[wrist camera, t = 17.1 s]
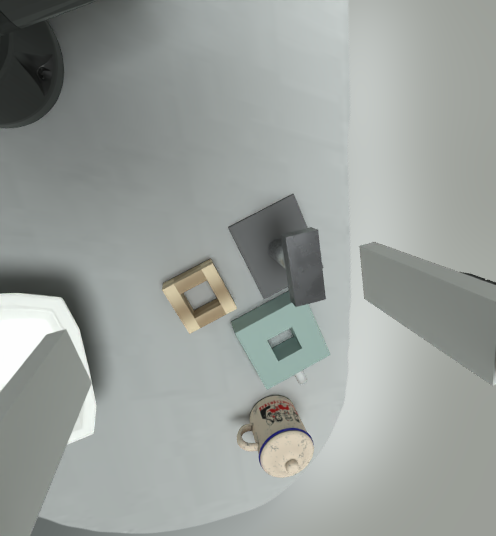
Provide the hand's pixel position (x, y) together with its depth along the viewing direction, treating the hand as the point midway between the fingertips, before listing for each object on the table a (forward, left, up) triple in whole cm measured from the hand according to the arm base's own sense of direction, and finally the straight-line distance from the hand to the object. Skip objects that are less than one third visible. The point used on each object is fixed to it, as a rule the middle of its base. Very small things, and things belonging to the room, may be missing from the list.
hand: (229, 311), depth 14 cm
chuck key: (+10, +9, -33) cm, 35 cm away
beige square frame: (+10, -5, -33) cm, 35 cm away
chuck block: (+25, +3, -33) cm, 42 cm away
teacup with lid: (+37, -6, -33) cm, 50 cm away
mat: (+10, +9, -33) cm, 36 cm away
